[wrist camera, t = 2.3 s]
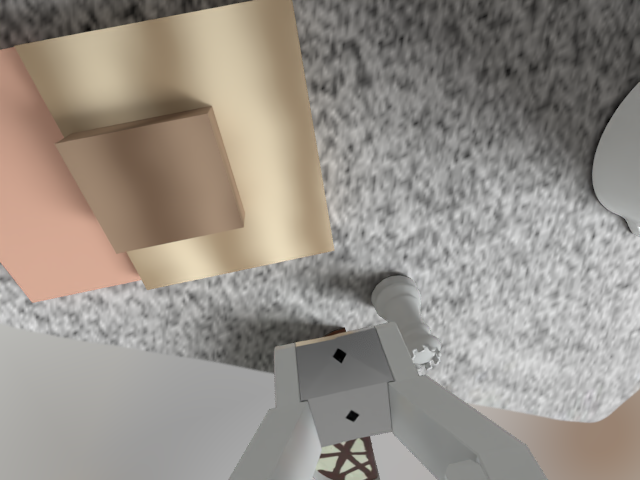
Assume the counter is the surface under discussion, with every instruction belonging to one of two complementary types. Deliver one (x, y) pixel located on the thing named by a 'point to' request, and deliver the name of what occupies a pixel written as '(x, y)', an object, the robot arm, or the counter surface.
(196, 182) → the walnut tile
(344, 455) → the food container
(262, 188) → the oak board
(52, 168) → the salmon pink pad
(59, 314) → the counter surface
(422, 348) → the rook chess piece
